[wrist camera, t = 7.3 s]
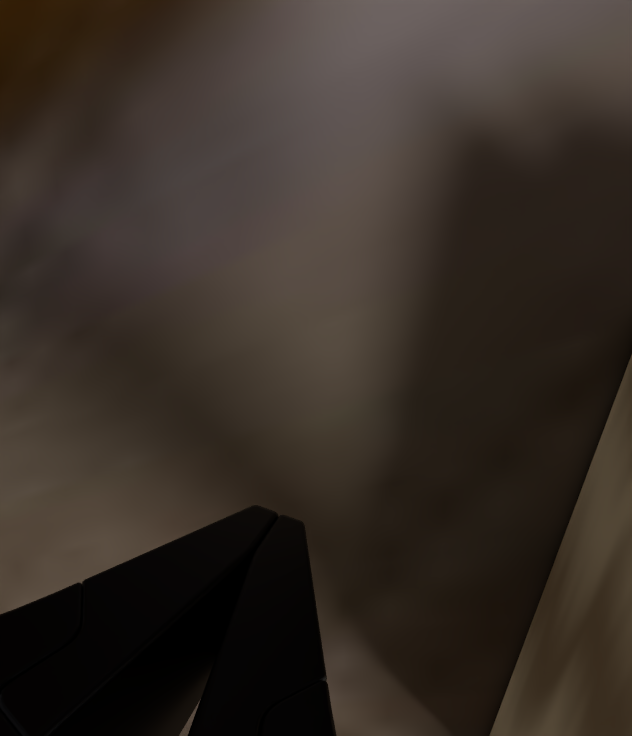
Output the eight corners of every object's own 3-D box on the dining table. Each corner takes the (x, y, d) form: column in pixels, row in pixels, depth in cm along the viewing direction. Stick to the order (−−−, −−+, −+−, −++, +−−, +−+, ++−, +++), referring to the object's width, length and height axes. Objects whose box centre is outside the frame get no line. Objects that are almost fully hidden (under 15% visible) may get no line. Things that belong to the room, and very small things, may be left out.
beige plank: (509, 774, 18) (535, 1049, 12) (479, 763, 19) (490, 1030, 13) (692, 319, 13) (881, 412, 7) (648, 309, 14) (799, 393, 8)
